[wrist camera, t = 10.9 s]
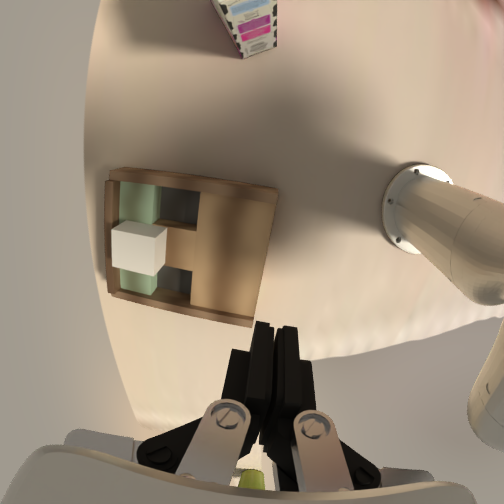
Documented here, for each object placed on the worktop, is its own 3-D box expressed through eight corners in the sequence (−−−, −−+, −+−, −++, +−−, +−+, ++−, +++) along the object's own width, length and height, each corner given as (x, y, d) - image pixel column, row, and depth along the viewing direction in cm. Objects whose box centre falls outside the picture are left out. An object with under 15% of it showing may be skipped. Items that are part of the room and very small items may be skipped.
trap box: (278, 188, 36) (278, 196, 31) (254, 312, 43) (251, 332, 38) (124, 167, 36) (105, 171, 31) (123, 283, 43) (108, 299, 38)
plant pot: (232, 466, 63) (228, 492, 55) (266, 466, 62) (263, 492, 54) (241, 478, 66) (237, 501, 58) (272, 477, 65) (270, 501, 57)
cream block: (167, 227, 36) (155, 238, 32) (165, 263, 38) (153, 276, 34) (126, 220, 36) (111, 229, 32) (125, 254, 38) (112, 266, 34)
